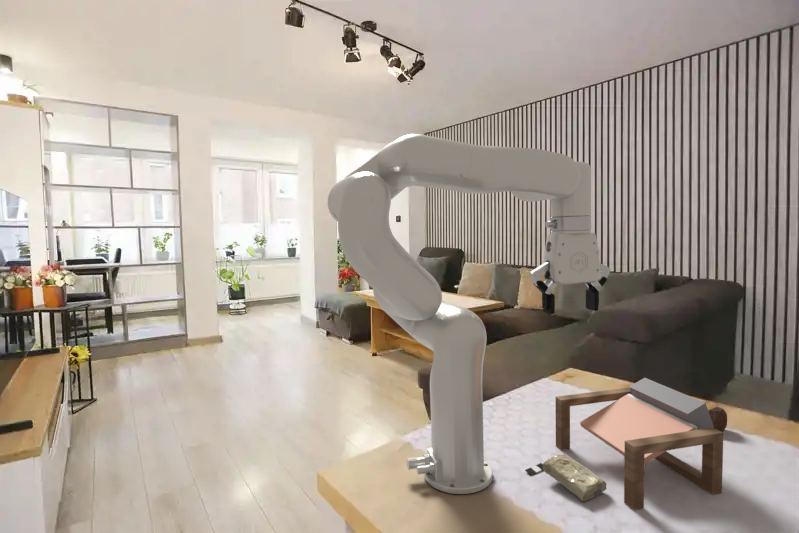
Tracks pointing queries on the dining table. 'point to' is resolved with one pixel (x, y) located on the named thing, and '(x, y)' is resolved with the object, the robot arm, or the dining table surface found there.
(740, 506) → the dining table surface
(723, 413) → the bolt
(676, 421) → the trapdoor
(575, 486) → the cuneiform tablet
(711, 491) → the frame
